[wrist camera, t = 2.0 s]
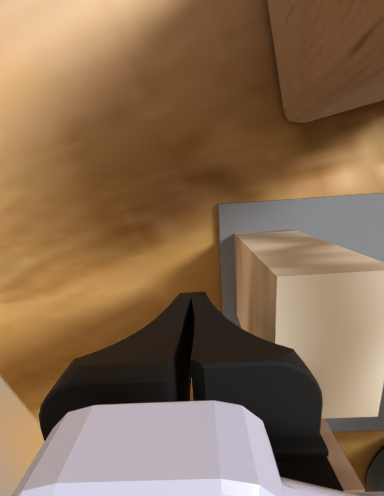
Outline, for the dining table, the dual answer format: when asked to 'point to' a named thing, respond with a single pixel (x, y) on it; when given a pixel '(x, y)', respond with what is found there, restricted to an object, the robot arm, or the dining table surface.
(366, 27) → the wooden block
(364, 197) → the felt mat
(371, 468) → the canister
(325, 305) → the ash block
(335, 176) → the dining table surface
